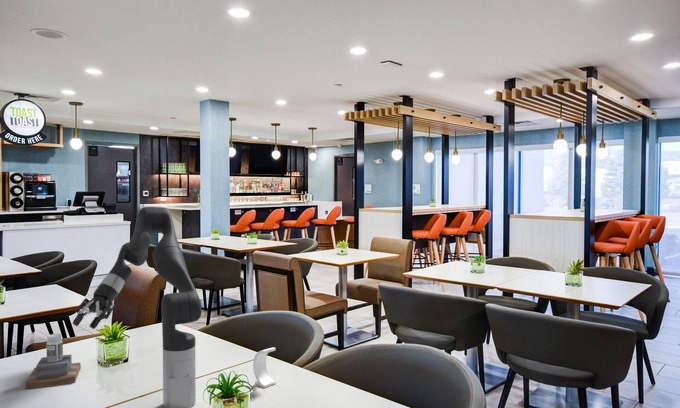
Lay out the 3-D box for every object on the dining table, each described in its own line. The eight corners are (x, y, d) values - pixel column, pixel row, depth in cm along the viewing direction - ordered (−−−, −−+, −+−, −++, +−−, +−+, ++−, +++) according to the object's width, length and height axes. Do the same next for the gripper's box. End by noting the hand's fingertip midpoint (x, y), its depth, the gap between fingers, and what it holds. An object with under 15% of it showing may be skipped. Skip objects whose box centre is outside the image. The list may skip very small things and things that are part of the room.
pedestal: (75, 382, 159) (75, 364, 159) (25, 388, 154) (25, 370, 154) (80, 368, 172) (80, 351, 172) (34, 373, 167) (34, 356, 167)
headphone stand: (264, 388, 155) (264, 351, 155) (253, 382, 160) (253, 346, 159) (275, 384, 159) (275, 347, 158) (264, 379, 163) (264, 343, 163)
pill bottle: (59, 356, 166) (58, 332, 166) (65, 359, 163) (64, 334, 163) (44, 360, 162) (43, 335, 162) (50, 363, 160) (49, 338, 159)
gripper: (89, 281, 183) (62, 318, 173) (117, 284, 178) (90, 323, 167) (101, 292, 188) (75, 329, 178) (129, 295, 183) (103, 334, 172)
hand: (83, 326), depth 173 cm, fingers open, 8 cm apart
